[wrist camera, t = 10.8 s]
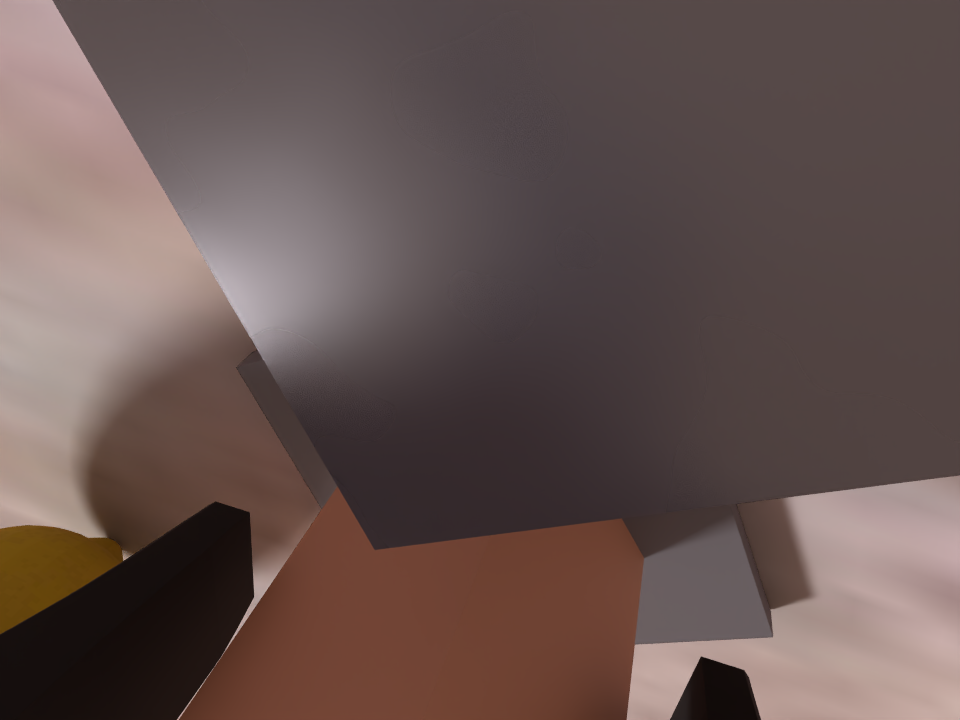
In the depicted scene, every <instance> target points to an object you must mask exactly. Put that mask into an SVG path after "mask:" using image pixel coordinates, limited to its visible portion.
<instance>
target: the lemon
mask: <svg viewBox="0 0 960 720" xmlns="http://www.w3.org/2000/svg"><path fill="white" fill-rule="evenodd" d="M121 562H123V555H122V549H121V547H120V546H119V545H118V544H117V543H116V542H115V541H114V540H112V539H110V538H87V537H85V536H83V535H81V534H78V533H75V532H72V531H69V530H65V529H61V528H57V527H48V526H33V525H25V526H16V527H8V528H2V529H0V634H1V633H3V632H5V631H7V630H9V629H10V628H12V627H14V626H16V625H17V624H19V623H21V622H23V621H24V620H26V619H28V618H30V617H31V616H33V615H35V614H37V613H38V612H40V611H42V610H44V609H45V608H47V607H49V606H51V605H52V604H54V603H56V602H57V601H59V600H61V599H63V598H64V597H66V596H68V595H70V594H71V593H73V592H75V591H76V590H78V589H79V588H81V587H83V586H84V585H86V584H88V583H89V582H91V581H92V580H94V579H96V578H97V577H99V576H100V575H102V574H104V573H105V572H107V571H108V570H110V569H112V568H113V567H115V566H116V565H118V564H120V563H121Z"/></svg>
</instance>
